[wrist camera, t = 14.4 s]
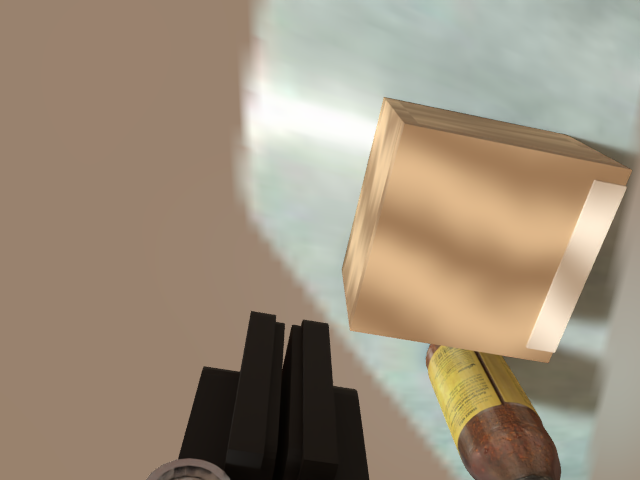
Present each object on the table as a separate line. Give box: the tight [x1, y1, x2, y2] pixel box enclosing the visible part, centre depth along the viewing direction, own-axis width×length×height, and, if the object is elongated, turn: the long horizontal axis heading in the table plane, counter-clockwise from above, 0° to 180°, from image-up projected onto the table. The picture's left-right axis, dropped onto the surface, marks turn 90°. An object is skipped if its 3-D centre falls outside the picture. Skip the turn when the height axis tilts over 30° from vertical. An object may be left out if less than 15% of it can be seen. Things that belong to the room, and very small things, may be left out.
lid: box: [349, 120, 632, 363], centre depth 36 cm, size 14×14×1 cm
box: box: [342, 97, 622, 321], centre depth 40 cm, size 14×14×8 cm
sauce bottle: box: [426, 344, 561, 480], centre depth 40 cm, size 7×6×20 cm
